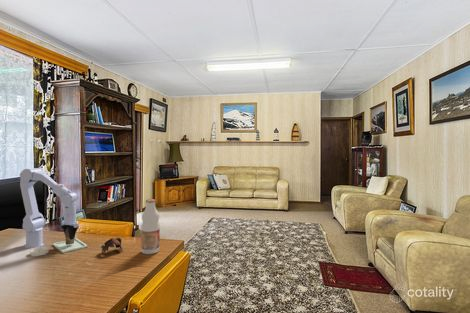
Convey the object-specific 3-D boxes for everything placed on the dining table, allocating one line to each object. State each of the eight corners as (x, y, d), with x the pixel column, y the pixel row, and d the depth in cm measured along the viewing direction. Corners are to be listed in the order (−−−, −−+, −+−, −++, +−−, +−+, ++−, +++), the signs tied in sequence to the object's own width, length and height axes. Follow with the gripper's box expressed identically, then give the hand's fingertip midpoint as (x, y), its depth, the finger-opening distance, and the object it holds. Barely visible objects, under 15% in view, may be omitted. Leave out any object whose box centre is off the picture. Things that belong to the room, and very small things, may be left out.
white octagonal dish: (29, 254, 134) (29, 249, 134) (45, 250, 140) (45, 245, 140) (32, 258, 129) (32, 253, 129) (49, 254, 135) (49, 249, 135)
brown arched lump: (119, 256, 134) (110, 243, 132) (104, 263, 135) (95, 250, 134) (129, 242, 145) (121, 231, 144) (115, 249, 147) (107, 237, 145)
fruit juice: (137, 251, 139) (138, 199, 139) (153, 246, 146) (153, 197, 146) (147, 256, 133) (147, 202, 133) (163, 251, 140) (163, 199, 140)
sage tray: (52, 245, 146) (52, 243, 146) (76, 240, 155) (76, 238, 155) (62, 254, 135) (62, 251, 135) (87, 248, 144) (87, 245, 144)
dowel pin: (64, 243, 144) (64, 229, 144) (71, 241, 148) (71, 227, 148) (67, 245, 142) (67, 230, 142) (75, 243, 146) (75, 228, 145)
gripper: (55, 213, 145) (55, 237, 145) (68, 217, 138) (68, 242, 138) (69, 211, 151) (69, 234, 151) (82, 214, 144) (82, 239, 144)
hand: (70, 238), depth 145 cm, fingers closed on dowel pin, 4 cm apart
